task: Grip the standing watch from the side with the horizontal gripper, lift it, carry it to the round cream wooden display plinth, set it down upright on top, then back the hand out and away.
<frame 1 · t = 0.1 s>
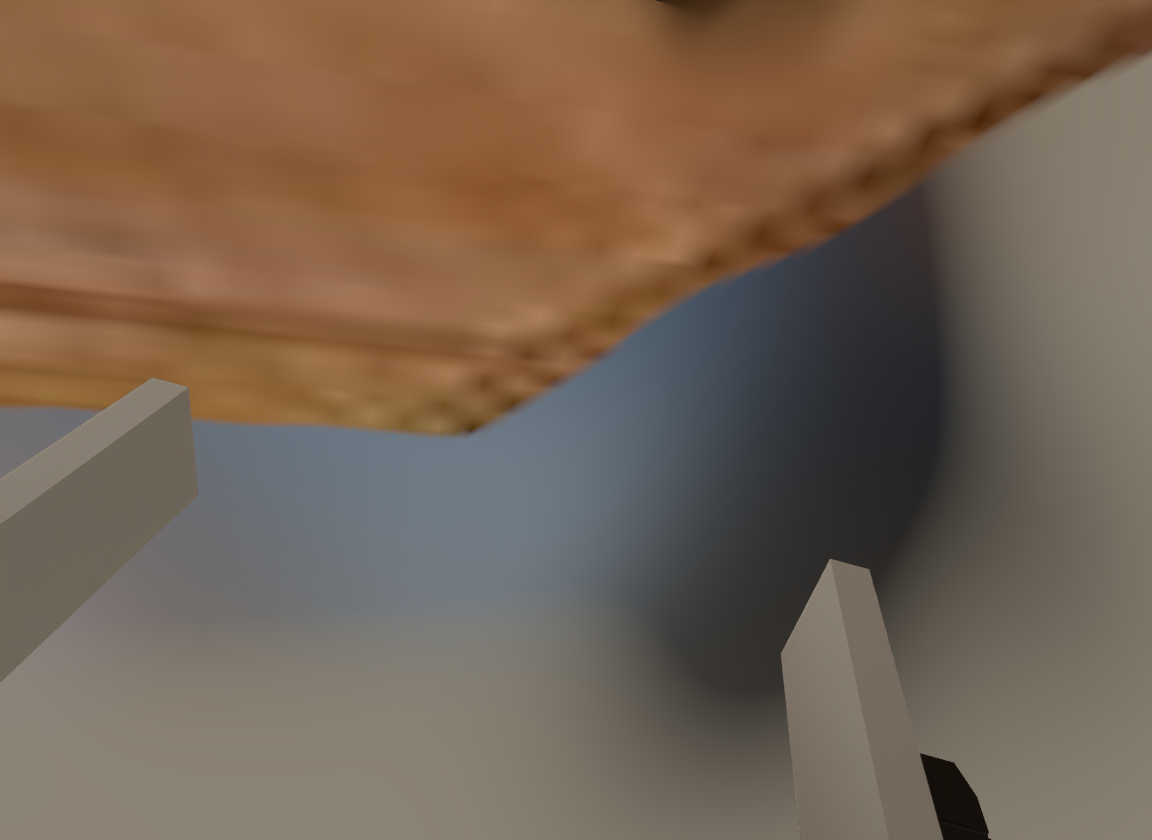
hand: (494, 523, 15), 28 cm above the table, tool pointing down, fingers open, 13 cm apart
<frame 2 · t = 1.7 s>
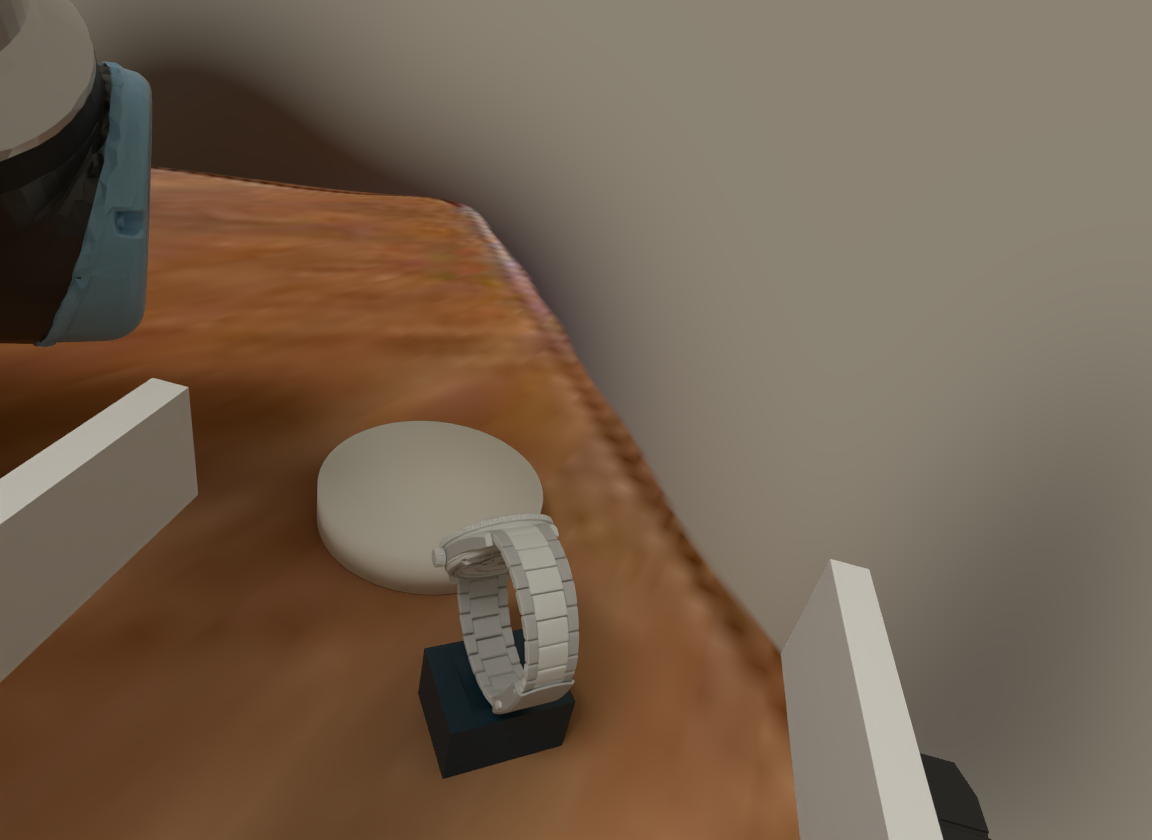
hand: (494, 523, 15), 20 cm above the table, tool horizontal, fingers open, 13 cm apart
watch: (486, 720, 33), on the table
display plinth: (430, 514, 44), on the table
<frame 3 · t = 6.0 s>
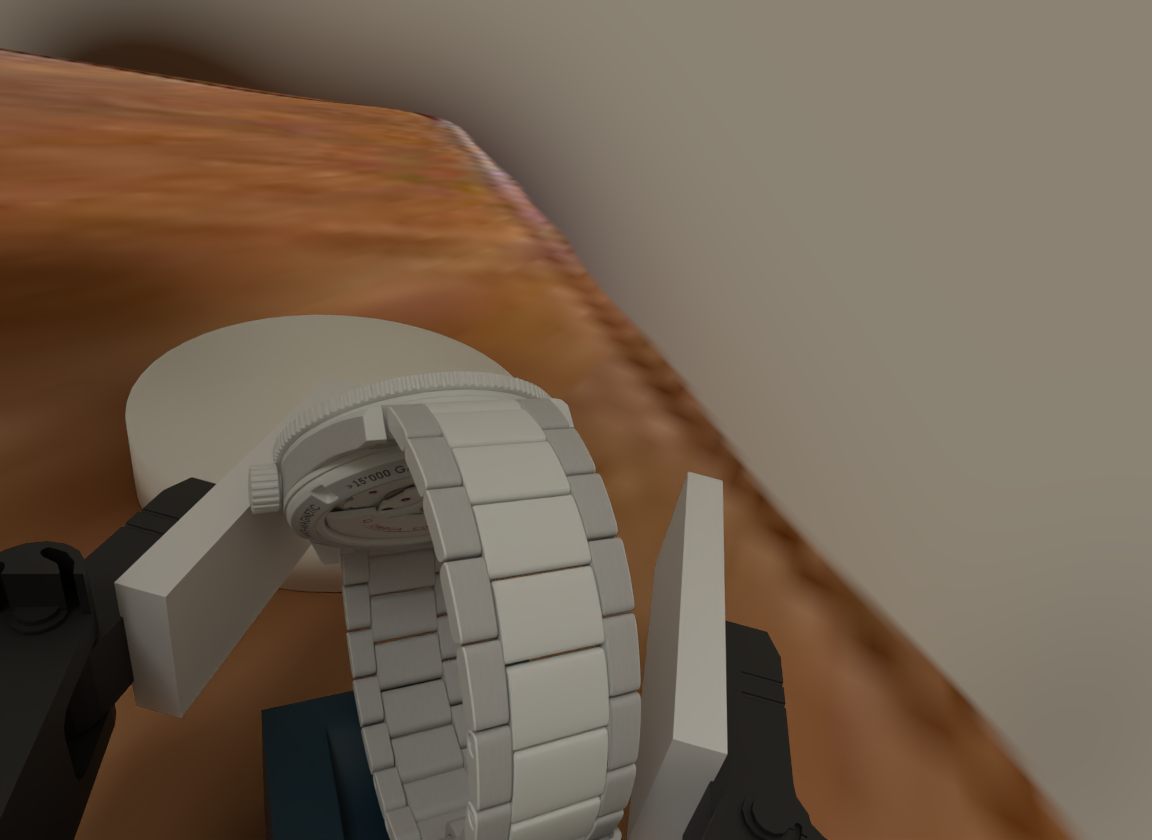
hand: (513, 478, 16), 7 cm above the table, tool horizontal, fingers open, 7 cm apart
display plinth: (345, 458, 26), on the table
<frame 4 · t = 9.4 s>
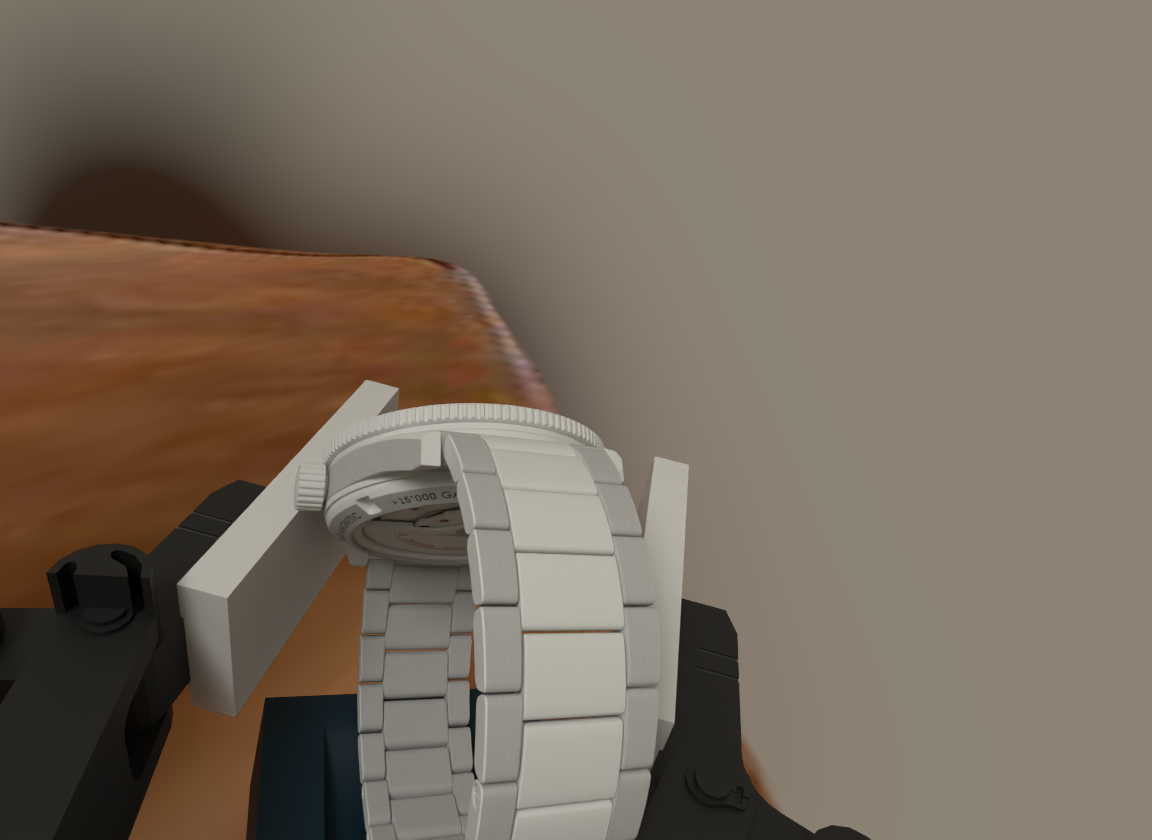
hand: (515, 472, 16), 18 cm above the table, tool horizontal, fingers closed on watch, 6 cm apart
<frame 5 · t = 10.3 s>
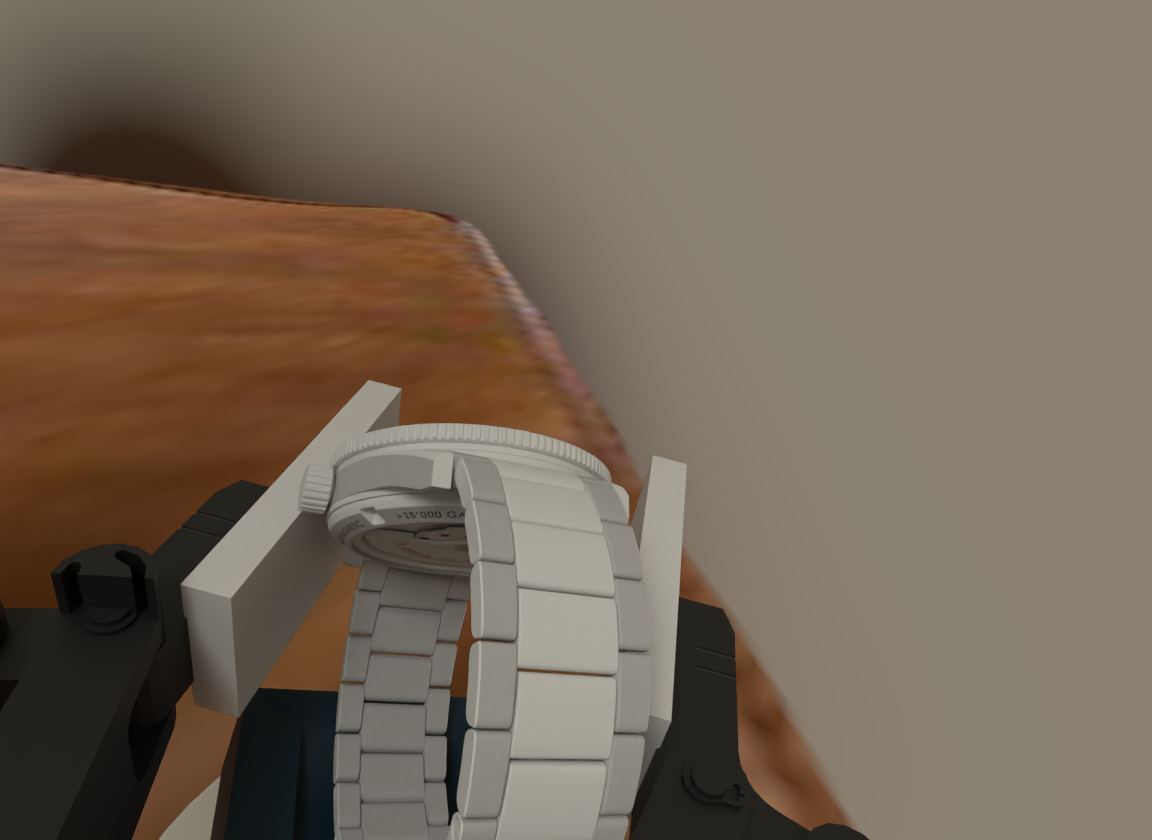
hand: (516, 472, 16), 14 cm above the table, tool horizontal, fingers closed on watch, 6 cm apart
when the fingers open (10 cm above the table, at t = 11.8 s): watch moves 2 cm, resting on display plinth.
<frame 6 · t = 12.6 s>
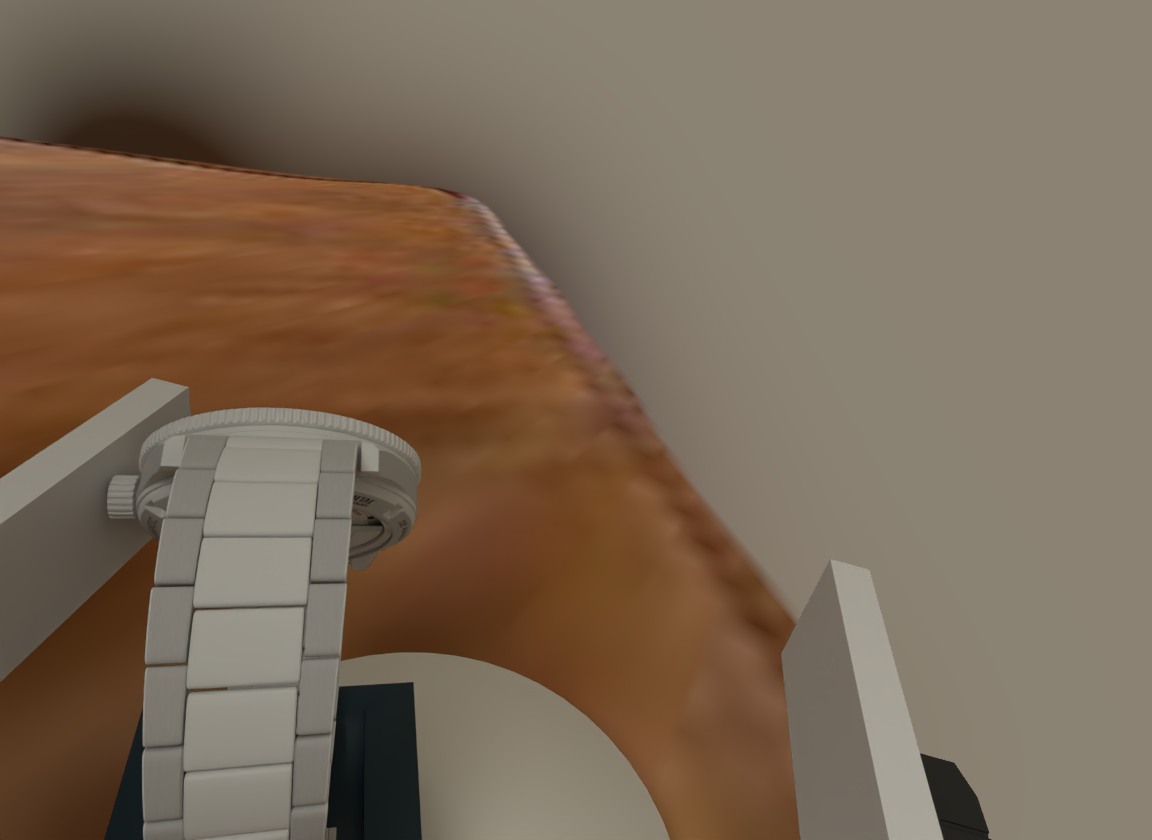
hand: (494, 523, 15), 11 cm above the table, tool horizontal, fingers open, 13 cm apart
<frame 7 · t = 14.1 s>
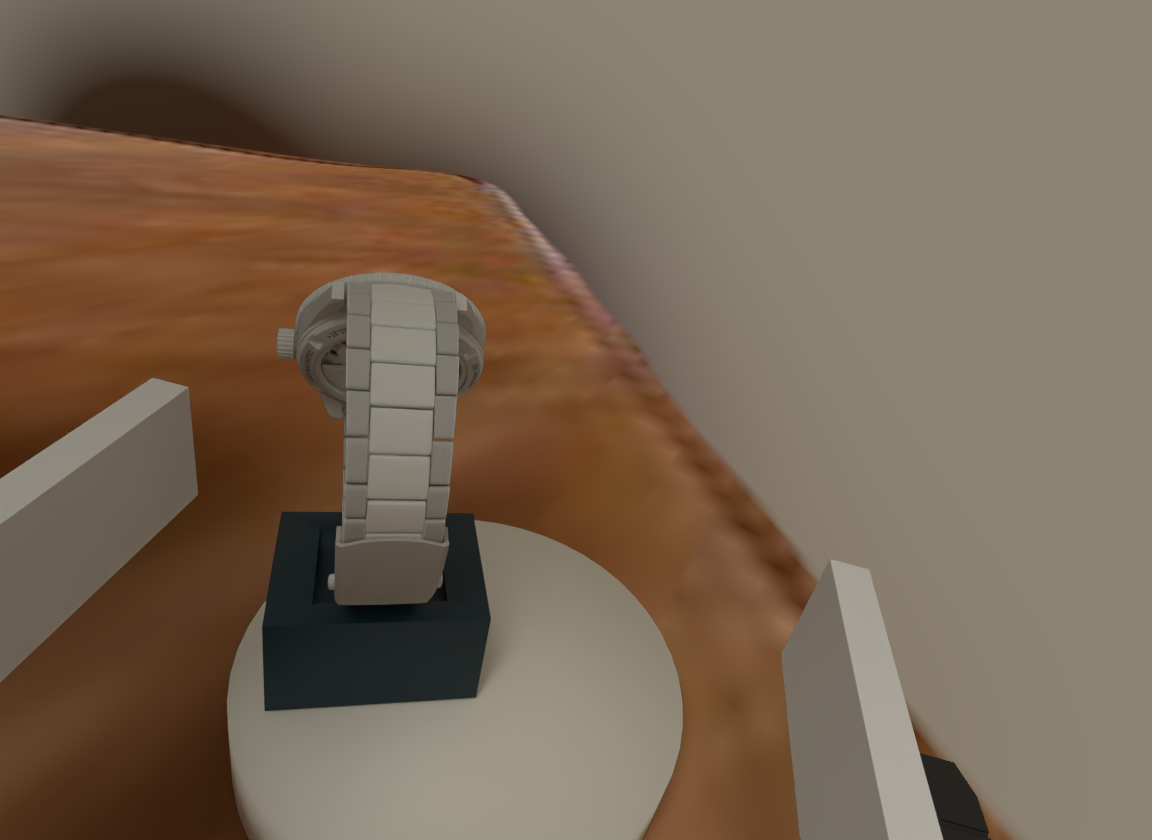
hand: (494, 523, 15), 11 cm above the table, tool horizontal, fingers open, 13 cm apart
watch: (372, 643, 22), point 2 cm above the table, touching display plinth
display plinth: (460, 716, 23), on the table
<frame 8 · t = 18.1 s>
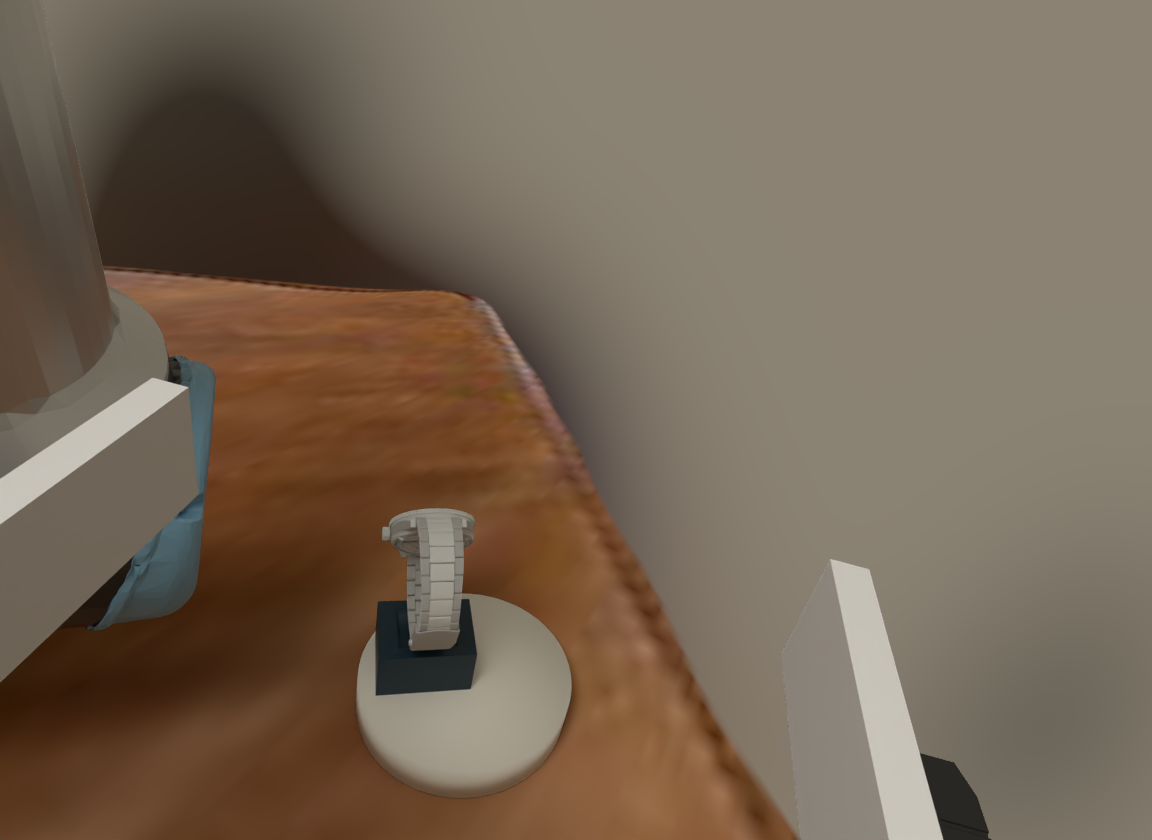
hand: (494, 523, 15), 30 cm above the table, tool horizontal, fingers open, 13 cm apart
watch: (420, 663, 45), point 2 cm above the table, touching display plinth
display plinth: (463, 697, 46), on the table
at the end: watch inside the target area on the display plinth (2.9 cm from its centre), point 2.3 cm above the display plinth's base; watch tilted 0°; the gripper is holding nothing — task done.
